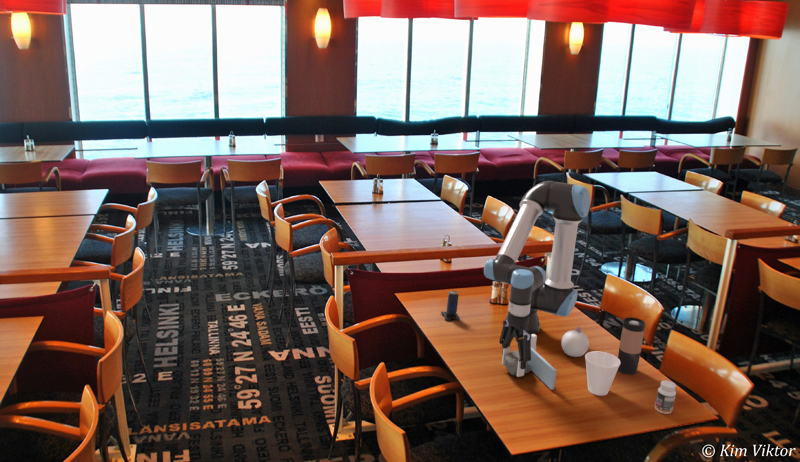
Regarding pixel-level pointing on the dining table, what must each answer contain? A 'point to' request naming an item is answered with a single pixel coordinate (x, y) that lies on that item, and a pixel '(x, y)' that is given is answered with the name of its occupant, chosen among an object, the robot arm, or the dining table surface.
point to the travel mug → (630, 345)
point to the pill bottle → (665, 397)
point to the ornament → (575, 343)
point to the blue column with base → (451, 306)
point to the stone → (514, 363)
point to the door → (542, 369)
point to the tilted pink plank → (533, 341)
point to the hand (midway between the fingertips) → (512, 369)
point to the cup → (600, 371)
